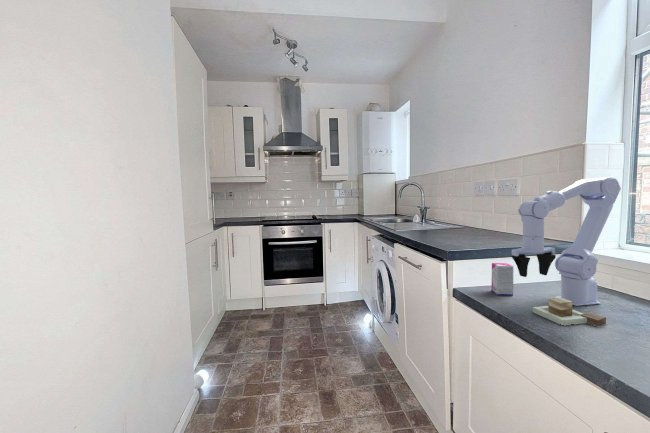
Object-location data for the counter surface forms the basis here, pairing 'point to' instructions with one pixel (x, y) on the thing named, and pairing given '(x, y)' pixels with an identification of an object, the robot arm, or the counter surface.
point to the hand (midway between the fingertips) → (533, 275)
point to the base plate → (568, 320)
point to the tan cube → (560, 307)
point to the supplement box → (502, 279)
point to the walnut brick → (594, 319)
